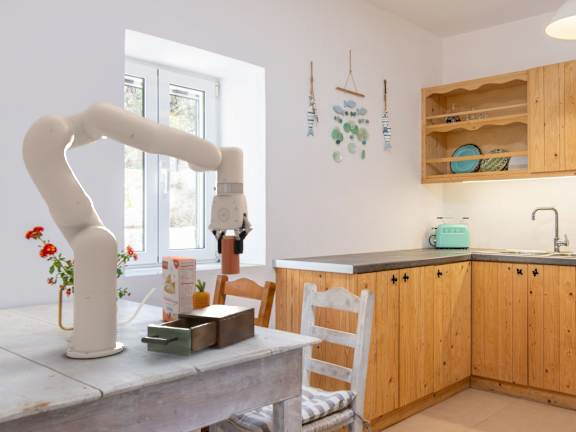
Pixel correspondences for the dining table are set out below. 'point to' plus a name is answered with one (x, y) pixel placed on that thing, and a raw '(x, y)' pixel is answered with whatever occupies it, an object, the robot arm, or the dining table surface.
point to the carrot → (201, 297)
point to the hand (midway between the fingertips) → (230, 252)
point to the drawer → (181, 336)
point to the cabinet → (226, 322)
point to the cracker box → (177, 285)
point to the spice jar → (229, 256)
